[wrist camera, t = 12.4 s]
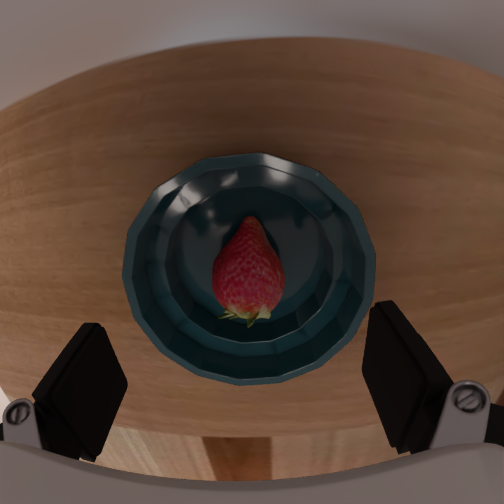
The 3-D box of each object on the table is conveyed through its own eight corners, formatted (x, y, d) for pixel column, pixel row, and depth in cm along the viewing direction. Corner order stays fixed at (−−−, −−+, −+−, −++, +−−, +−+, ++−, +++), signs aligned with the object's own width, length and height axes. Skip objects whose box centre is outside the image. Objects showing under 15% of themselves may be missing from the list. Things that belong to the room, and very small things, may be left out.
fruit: (291, 216, 18) (304, 242, 13) (276, 303, 20) (281, 348, 15) (221, 208, 18) (209, 230, 13) (213, 295, 20) (202, 339, 15)
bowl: (137, 168, 18) (100, 177, 13) (345, 146, 17) (376, 147, 12) (174, 342, 22) (157, 385, 17) (345, 329, 21) (363, 372, 17)
